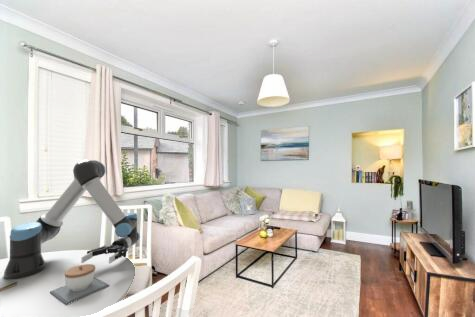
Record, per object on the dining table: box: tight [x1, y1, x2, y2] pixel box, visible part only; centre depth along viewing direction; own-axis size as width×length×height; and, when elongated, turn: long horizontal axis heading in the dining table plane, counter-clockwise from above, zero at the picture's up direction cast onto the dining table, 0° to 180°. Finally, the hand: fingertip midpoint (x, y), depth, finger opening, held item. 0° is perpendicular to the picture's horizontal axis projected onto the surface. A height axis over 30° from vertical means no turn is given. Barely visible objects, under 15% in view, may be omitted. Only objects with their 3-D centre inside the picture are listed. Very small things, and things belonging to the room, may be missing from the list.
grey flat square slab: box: [49, 276, 110, 306], centre depth 96 cm, size 16×16×1 cm
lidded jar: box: [64, 263, 96, 291], centre depth 97 cm, size 11×11×9 cm
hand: (95, 260), depth 107 cm, fingers open, 13 cm apart
